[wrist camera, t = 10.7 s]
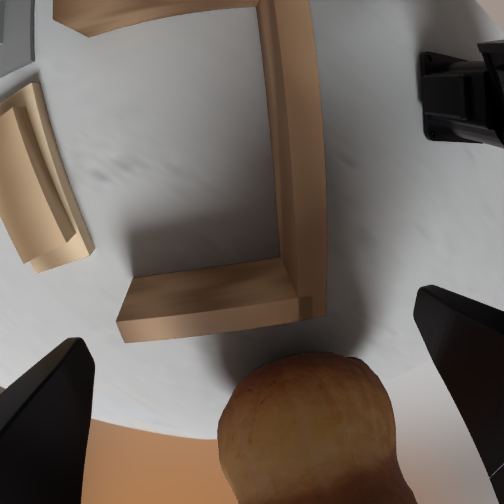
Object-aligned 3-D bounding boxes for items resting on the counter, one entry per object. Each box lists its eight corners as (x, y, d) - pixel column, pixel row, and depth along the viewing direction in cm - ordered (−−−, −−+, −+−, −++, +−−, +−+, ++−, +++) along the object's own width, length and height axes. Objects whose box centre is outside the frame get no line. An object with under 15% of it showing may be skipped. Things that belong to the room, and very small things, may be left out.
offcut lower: (44, 83, 15) (31, 82, 13) (98, 244, 20) (89, 255, 19) (-6, 115, 15) (-21, 118, 13) (46, 262, 20) (36, 273, 19)
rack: (279, -15, 14) (300, -49, 9) (304, 274, 22) (325, 315, 18) (87, 16, 13) (53, -6, 9) (139, 297, 22) (124, 343, 17)
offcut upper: (25, 106, 14) (12, 107, 13) (76, 233, 18) (66, 243, 16) (-15, 136, 14) (-28, 140, 13) (34, 253, 18) (23, 263, 17)
